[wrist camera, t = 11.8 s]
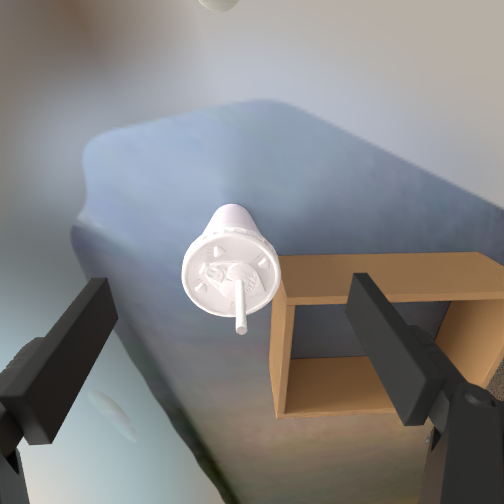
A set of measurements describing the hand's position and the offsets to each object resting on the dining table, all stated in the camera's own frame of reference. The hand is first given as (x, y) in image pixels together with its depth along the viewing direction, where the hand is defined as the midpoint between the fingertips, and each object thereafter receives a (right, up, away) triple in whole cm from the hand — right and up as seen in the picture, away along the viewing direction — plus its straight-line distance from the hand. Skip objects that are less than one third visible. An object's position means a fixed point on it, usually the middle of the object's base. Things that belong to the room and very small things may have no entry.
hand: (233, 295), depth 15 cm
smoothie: (-1, +5, +11) cm, 12 cm away
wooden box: (+14, -5, +17) cm, 23 cm away
